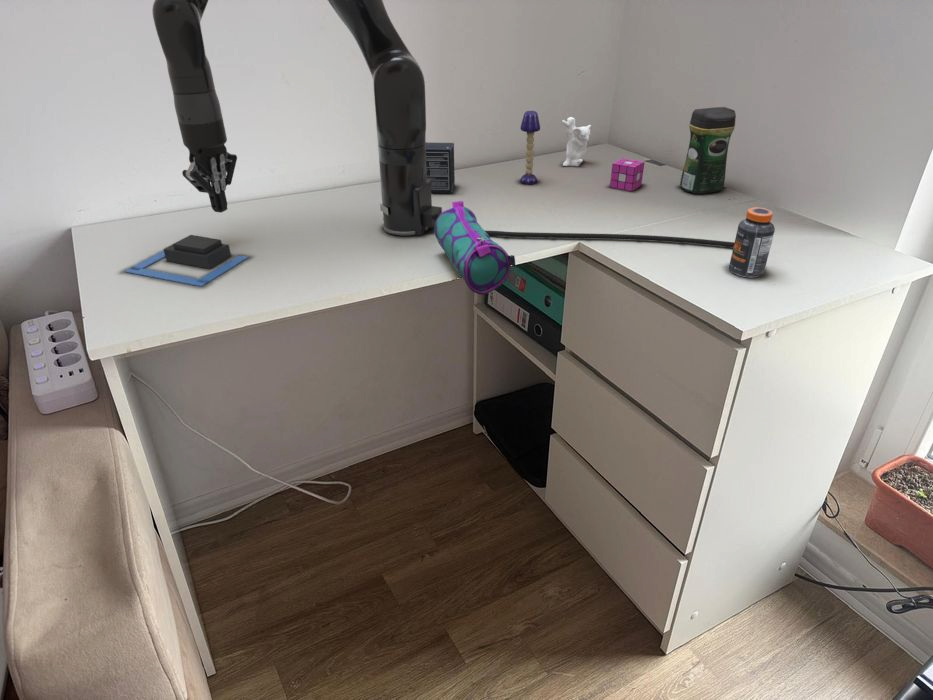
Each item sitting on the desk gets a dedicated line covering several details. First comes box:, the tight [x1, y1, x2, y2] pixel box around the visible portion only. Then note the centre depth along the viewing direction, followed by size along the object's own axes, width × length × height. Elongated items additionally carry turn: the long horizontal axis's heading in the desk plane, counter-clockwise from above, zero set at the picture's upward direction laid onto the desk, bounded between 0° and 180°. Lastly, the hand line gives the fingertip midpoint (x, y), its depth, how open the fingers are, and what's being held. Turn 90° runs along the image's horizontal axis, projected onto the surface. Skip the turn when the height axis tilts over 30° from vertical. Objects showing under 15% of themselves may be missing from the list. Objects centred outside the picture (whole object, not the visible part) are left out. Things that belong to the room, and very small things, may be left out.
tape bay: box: [124, 250, 249, 287], centre depth 122 cm, size 17×13×1 cm
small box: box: [426, 141, 456, 194], centre depth 155 cm, size 11×6×10 cm, turn 84°
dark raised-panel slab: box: [162, 234, 232, 270], centre depth 123 cm, size 10×6×4 cm, turn 69°
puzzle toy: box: [609, 157, 645, 192], centre depth 158 cm, size 6×6×6 cm
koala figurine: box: [561, 116, 593, 167], centre depth 172 cm, size 8×7×12 cm
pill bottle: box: [728, 206, 776, 278], centre depth 115 cm, size 6×6×11 cm
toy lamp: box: [519, 110, 541, 185], centre depth 158 cm, size 5×5×17 cm
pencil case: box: [433, 200, 516, 296], centre depth 116 cm, size 21×9×10 cm, turn 17°
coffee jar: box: [679, 106, 737, 194], centre depth 153 cm, size 10×8×19 cm
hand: (220, 210), depth 127 cm, fingers closed
